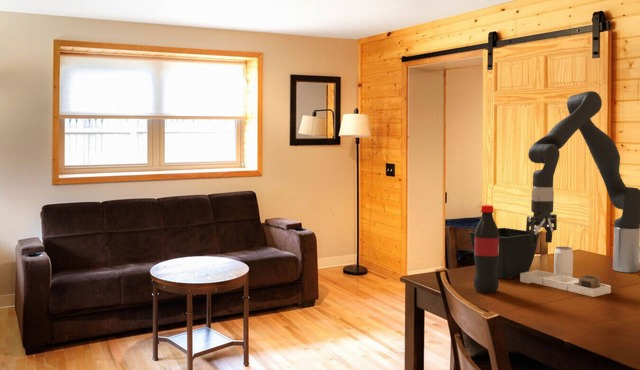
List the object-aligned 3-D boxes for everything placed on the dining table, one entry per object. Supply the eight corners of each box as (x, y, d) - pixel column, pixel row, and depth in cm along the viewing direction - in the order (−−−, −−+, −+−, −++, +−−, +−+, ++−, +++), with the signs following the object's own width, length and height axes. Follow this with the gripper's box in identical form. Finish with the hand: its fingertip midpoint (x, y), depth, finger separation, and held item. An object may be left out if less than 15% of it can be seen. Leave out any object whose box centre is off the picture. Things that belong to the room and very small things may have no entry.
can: (574, 282, 226) (574, 249, 225) (555, 281, 227) (556, 249, 226) (570, 278, 232) (571, 246, 231) (552, 277, 233) (553, 246, 232)
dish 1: (537, 278, 232) (537, 269, 232) (559, 283, 224) (559, 274, 224) (520, 281, 227) (520, 273, 226) (542, 286, 219) (542, 277, 218)
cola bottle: (499, 289, 216) (500, 204, 213) (498, 295, 208) (499, 206, 205) (474, 287, 218) (475, 203, 216) (472, 293, 210) (473, 206, 208)
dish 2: (560, 283, 224) (560, 274, 223) (583, 288, 215) (584, 279, 215) (543, 287, 218) (543, 278, 218) (566, 292, 210) (566, 283, 210)
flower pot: (467, 272, 242) (468, 230, 240) (502, 267, 251) (503, 226, 250) (503, 282, 225) (504, 237, 224) (539, 276, 235) (540, 233, 233)
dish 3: (584, 289, 215) (585, 280, 215) (610, 294, 207) (610, 285, 207) (567, 292, 210) (568, 283, 210) (593, 299, 202) (593, 289, 202)
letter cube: (585, 289, 212) (585, 274, 212) (599, 291, 208) (600, 276, 208) (578, 291, 209) (578, 276, 208) (593, 294, 205) (593, 279, 204)
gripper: (546, 197, 230) (544, 240, 231) (521, 199, 222) (519, 243, 223) (563, 199, 223) (562, 243, 225) (538, 201, 215) (537, 247, 217)
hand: (541, 243), depth 224 cm, fingers open, 8 cm apart
